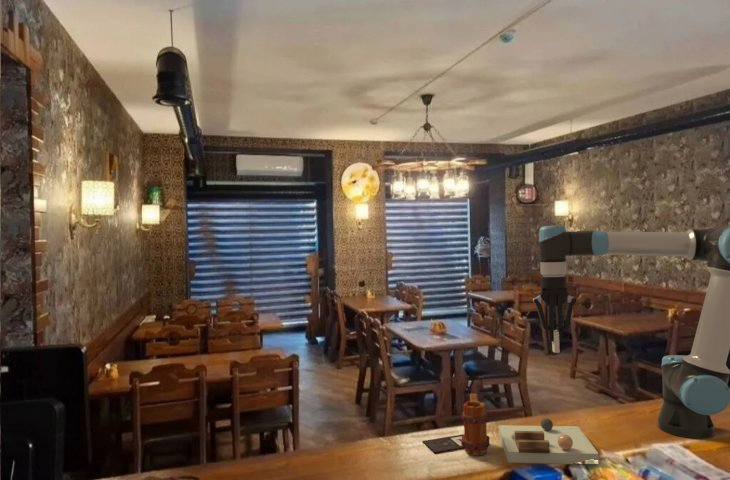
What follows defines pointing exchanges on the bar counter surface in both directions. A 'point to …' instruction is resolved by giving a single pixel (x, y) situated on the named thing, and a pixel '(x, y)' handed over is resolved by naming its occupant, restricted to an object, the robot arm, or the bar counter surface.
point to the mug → (475, 427)
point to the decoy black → (546, 424)
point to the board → (557, 455)
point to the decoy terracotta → (565, 442)
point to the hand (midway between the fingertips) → (556, 351)
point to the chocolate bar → (444, 444)
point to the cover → (531, 442)
